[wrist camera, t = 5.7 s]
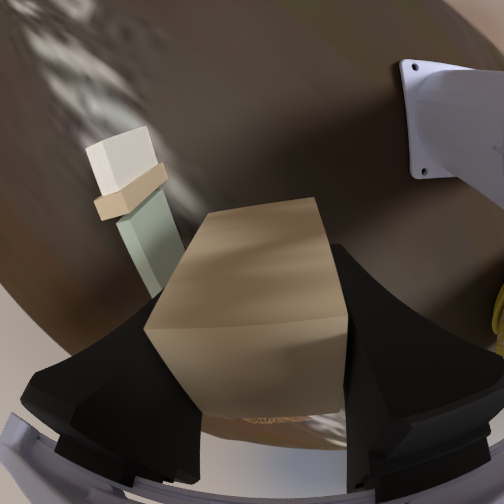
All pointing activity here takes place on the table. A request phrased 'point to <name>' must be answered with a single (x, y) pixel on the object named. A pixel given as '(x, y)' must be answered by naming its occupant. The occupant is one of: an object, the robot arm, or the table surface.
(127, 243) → the door
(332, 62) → the table surface
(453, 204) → the table surface
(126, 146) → the wall frame
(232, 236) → the block
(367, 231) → the table surface
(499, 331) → the flowerpot
